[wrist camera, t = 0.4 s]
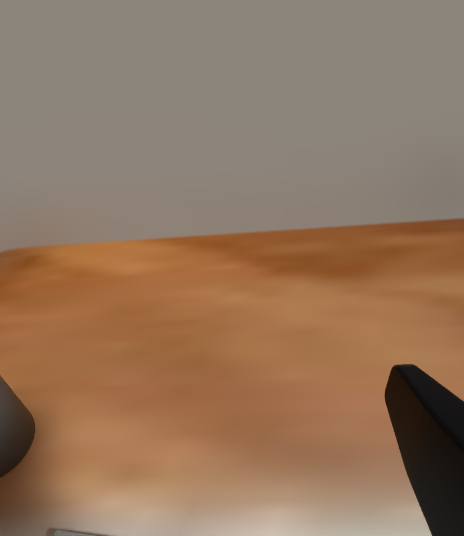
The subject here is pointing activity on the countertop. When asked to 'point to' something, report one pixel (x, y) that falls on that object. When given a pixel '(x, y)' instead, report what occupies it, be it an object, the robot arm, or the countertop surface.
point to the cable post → (13, 429)
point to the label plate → (69, 533)
